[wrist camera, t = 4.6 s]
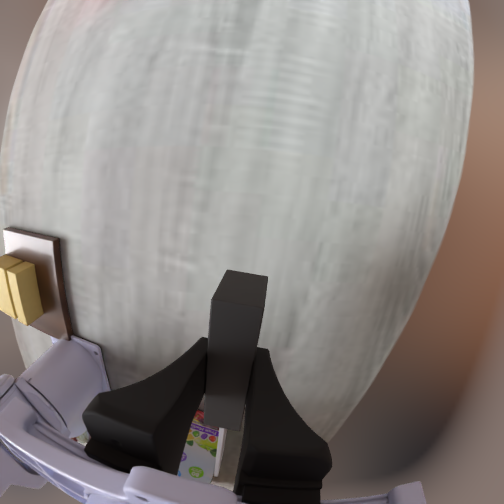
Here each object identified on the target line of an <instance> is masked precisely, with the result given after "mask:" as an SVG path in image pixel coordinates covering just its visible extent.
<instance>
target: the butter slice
mask: <svg viewBox="0 0 504 504" xmlns="http://www.w3.org/2000/svg"><path fill="white" fill-rule="evenodd" d="M7 274H8V279H9V284H10V289H11V293H12V297H13V302H14V306H15V309H16V313H17V317H18V320H19V322H21V323H23V324H25V325H26V326H28V325H30V324H31V323H32V322H34V321H35V320H36V319H38V318H39V317H40V316H42V315H43V314H44V313H43V309H42V304H41V299H40V294H39V289H38V284H37V278H36V272H35V265H34V264H32V263H29V262H26V261H25V262H23V263H21V264H19V265H17V266H15V267H13V268H11V269H9V270H7Z"/></svg>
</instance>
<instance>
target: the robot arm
mask: <svg viewBox="0 0 504 504" xmlns="http://www.w3.org/2000/svg"><path fill="white" fill-rule="evenodd" d="M51 340H52V343H53V345H52V346H51V347H50V348H49V349H48V350H47V351H45V352H44V353H43V354H42V355H41V356H40V357H39V358H38V359H37V360H36V361H35V362H34V363H33V364H32V365H31V366H30V367H28V368H27V369H26V370H25V371H24V372H23V373H22V374H21V375H20V376H19V377H18V378H16V379H14V377H13V376H12V375H8V374H3V375H1V376H0V438H1V439H2V441H3V442H4V443H5V444H6V446H7V447H8V448H9V449H10V450H11V451H12V453H13V454H15V455H16V456H17V457H18V458H19V459H21V460H22V461H23V462H24V463H22V462H20V461H19V460H18V459H16V458H15V457H14V456H13V455H12V454H11V453H10V452H9V451H8V450H7V449H6V448H5V447H4V446H3V444H1V442H0V497H1V496H2V495H3V493H4V492H5V491H6V490H7V488H8V487H9V486H10V485H18V486H23V487H28V488H35V489H40V488H41V487H42V486H44V485H45V484H46V483H47V482H48V481H49V482H51V483H52V484H53V485H55V486H56V487H58V488H59V489H61V490H62V491H64V492H65V493H67V494H68V495H70V496H71V497H73V498H75V499H76V500H78V501H80V502H81V503H83V504H427V503H426V499H425V496H424V492H423V488H422V484H421V482H420V481H416V482H412V483H408V484H403V485H399V486H397V487H394V488H393V489H392V490H390V491H389V492H388V493H387V494H382V495H375V496H367V497H359V498H350V499H336V500H320V489H321V488H322V479H323V478H324V477H325V476H326V474H327V473H328V472H329V471H330V470H331V468H332V458H331V454H330V450H329V447H328V444H327V442H326V441H324V440H323V439H322V438H321V437H320V436H318V435H317V434H316V433H315V432H314V431H313V430H312V429H311V428H310V427H309V426H308V425H307V424H306V423H305V422H304V421H303V419H302V418H301V417H300V416H299V415H298V413H297V412H296V411H295V409H294V408H293V407H292V405H291V404H290V402H289V400H288V399H287V397H286V395H285V394H284V392H283V390H282V388H281V386H280V384H279V381H278V379H277V376H276V374H275V371H274V369H273V366H272V362H271V358H270V354H269V350H268V349H265V348H258V347H257V350H256V355H255V360H254V364H253V369H252V374H251V379H250V384H249V389H248V394H247V399H246V406H245V423H244V435H243V441H242V447H241V452H240V458H239V463H238V469H237V474H236V479H235V484H234V489H233V492H232V491H230V490H228V489H226V488H224V487H220V486H217V485H213V484H209V483H204V482H199V481H195V480H191V479H187V478H183V477H180V476H177V474H178V470H179V466H180V462H181V458H182V455H183V451H184V448H185V444H186V440H187V437H188V434H189V430H190V427H191V424H192V421H193V419H194V416H195V414H196V412H197V409H198V407H199V405H200V403H201V400H202V398H203V396H204V393H205V381H206V364H207V349H208V338H205V337H202V338H200V339H199V340H198V341H197V342H196V343H195V344H194V345H193V346H192V347H191V348H190V349H189V350H188V351H187V352H185V353H184V354H183V355H182V356H181V357H179V358H178V359H177V360H176V361H174V362H173V363H171V364H170V365H169V366H167V367H166V368H164V369H163V370H161V371H159V372H158V373H156V374H154V375H152V376H151V377H148V378H146V379H144V380H142V381H140V382H138V383H135V384H132V385H130V386H127V387H123V388H120V389H116V390H112V391H111V390H110V386H109V382H108V379H107V375H106V371H105V367H104V362H103V358H102V354H101V349H100V347H99V346H98V345H96V344H94V343H91V342H88V341H86V340H83V339H81V338H78V337H76V336H74V335H72V336H71V340H70V341H67V340H62V339H61V340H58V339H56V338H54V337H52V336H51ZM86 430H87V431H88V433H89V434H90V436H91V439H90V440H89V442H88V443H87V445H86V447H85V446H83V445H82V444H80V443H78V442H76V441H74V440H72V439H71V438H74V437H78V436H80V435H82V434H83V433H84V432H85V431H86Z"/></svg>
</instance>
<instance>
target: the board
mask: <svg viewBox="0 0 504 504" xmlns="http://www.w3.org/2000/svg"><path fill="white" fill-rule="evenodd" d="M3 235H4V244H5V252H6V255H9V256H11V257H14V258H17V259H20V260H22V262H25V261H26V262H29V263H32V264H34V265H35V272H36V278H37V284H38V289H39V294H40V299H41V304H42V309H43V313H44V314H43V315H42V316H40V317H39V318H38V319H36V320H35V321H34V322H32V323H31V324H30V326H32V327H34V328H36V329H38V330H40V331H42V332H44V333H46V334H48V335H50V336H52V337H54V338H56V339H58V340H61V339H62V340H67V341H70V340H71V336H72V335H73V330H72V326H71V321H70V316H69V311H68V306H67V300H66V294H65V288H64V281H63V274H62V265H61V256H60V244H59V238H55V237H50V236H45V235H41V234H36V233H31V232H27V231H22V230H18V229H14V228H9V227H8V228H5V229H3Z"/></svg>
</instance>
